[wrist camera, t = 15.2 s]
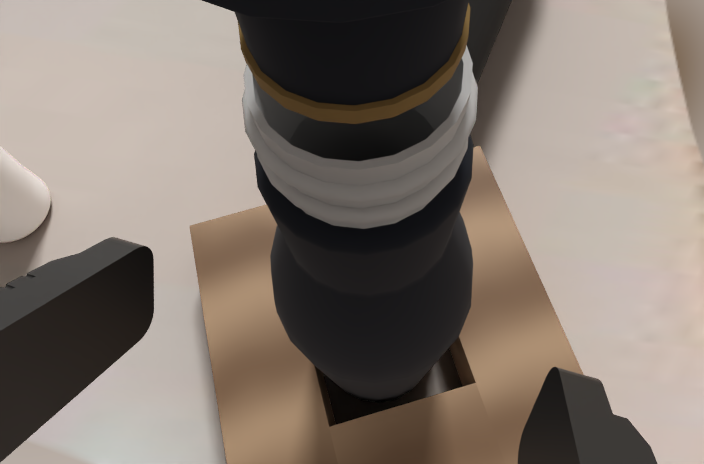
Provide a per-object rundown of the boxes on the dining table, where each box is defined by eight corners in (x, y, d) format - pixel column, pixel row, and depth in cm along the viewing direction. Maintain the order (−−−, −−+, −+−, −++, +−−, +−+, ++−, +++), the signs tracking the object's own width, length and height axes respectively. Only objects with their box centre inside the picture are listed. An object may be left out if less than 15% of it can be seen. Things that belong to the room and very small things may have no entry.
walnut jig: (212, 249, 32) (189, 225, 28) (468, 177, 32) (479, 145, 29) (266, 559, 25) (245, 582, 21) (589, 458, 26) (623, 463, 22)
